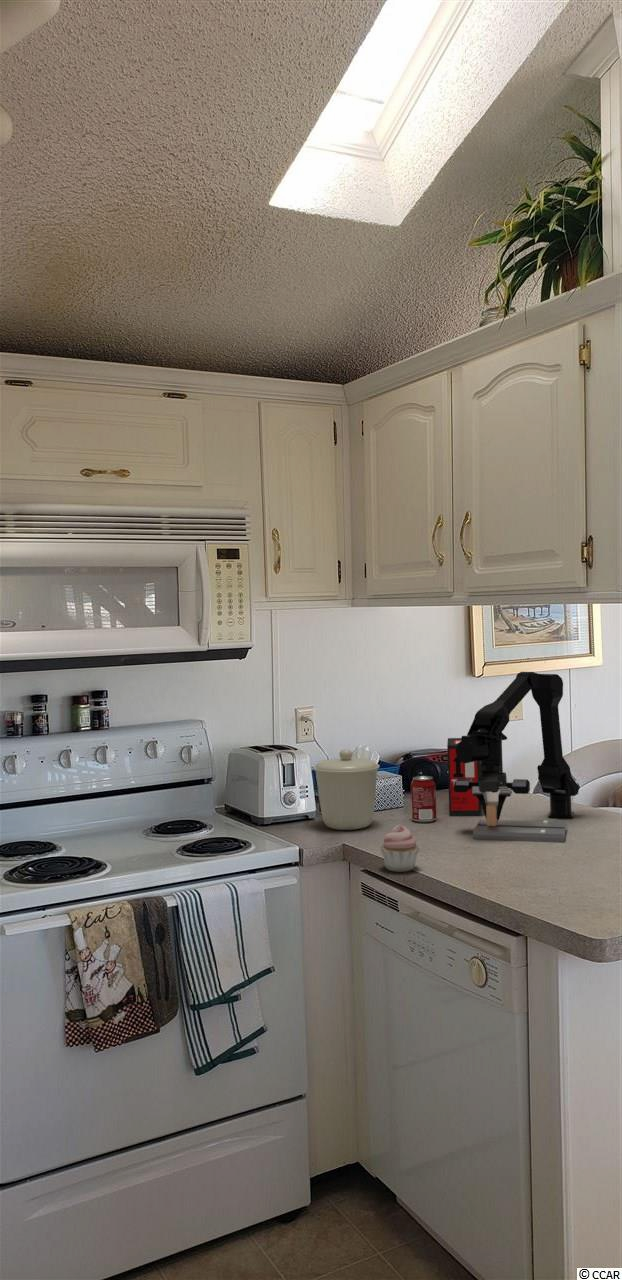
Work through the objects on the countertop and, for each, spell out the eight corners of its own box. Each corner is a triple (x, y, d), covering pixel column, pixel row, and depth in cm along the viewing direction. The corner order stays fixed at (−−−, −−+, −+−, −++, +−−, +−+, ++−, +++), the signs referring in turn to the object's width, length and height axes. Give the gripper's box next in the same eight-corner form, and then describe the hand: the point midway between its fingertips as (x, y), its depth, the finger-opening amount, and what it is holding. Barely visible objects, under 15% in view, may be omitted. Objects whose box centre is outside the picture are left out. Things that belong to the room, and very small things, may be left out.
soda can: (435, 823, 254) (434, 779, 253) (410, 823, 255) (409, 779, 255) (437, 818, 260) (436, 775, 260) (413, 818, 262) (411, 775, 261)
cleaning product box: (449, 804, 279) (447, 738, 279) (480, 804, 278) (478, 737, 277) (449, 816, 263) (447, 745, 262) (481, 816, 261) (479, 745, 261)
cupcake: (387, 876, 203) (385, 830, 203) (374, 865, 212) (372, 821, 212) (427, 872, 205) (426, 826, 205) (413, 861, 214) (411, 818, 214)
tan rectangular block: (489, 825, 243) (489, 801, 243) (499, 825, 243) (498, 801, 243) (486, 830, 238) (486, 806, 238) (496, 830, 237) (495, 806, 237)
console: (480, 826, 248) (480, 818, 248) (566, 829, 241) (565, 820, 241) (473, 838, 235) (472, 829, 235) (563, 842, 228) (563, 832, 228)
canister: (316, 835, 245) (313, 755, 244) (313, 820, 263) (311, 746, 262) (385, 832, 245) (382, 752, 245) (377, 818, 263) (375, 743, 263)
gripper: (449, 763, 235) (451, 824, 235) (525, 764, 229) (527, 827, 230) (456, 756, 246) (458, 815, 246) (529, 757, 240) (530, 818, 240)
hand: (492, 819), depth 240 cm, fingers closed on tan rectangular block, 2 cm apart
